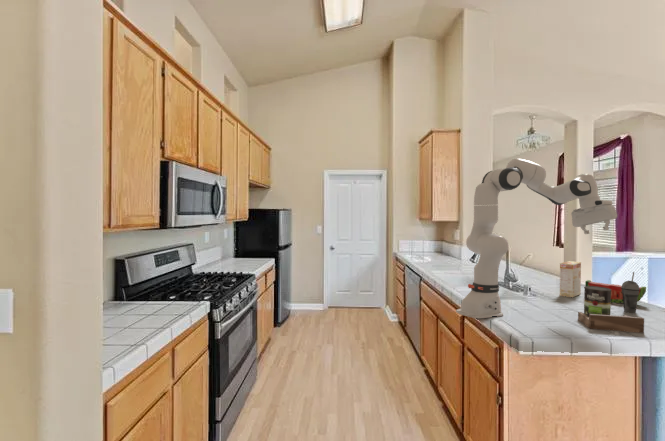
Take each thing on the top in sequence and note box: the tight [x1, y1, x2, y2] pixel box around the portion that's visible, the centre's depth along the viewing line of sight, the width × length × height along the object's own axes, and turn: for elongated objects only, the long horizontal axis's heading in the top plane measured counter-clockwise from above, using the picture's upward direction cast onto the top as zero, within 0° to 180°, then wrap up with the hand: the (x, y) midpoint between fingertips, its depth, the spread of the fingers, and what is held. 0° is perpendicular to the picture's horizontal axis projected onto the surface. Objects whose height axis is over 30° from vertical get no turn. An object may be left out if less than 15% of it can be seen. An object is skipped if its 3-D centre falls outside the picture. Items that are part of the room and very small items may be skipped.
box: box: [577, 311, 645, 334], centre depth 159 cm, size 14×19×6 cm
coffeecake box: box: [559, 260, 582, 298], centre depth 218 cm, size 15×7×20 cm, turn 130°
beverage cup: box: [621, 271, 640, 314], centre depth 181 cm, size 7×7×20 cm
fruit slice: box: [584, 279, 647, 304], centre depth 202 cm, size 26×6×10 cm, turn 45°
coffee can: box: [583, 285, 612, 317], centre depth 171 cm, size 10×10×14 cm
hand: (596, 232), depth 183 cm, fingers open, 8 cm apart
